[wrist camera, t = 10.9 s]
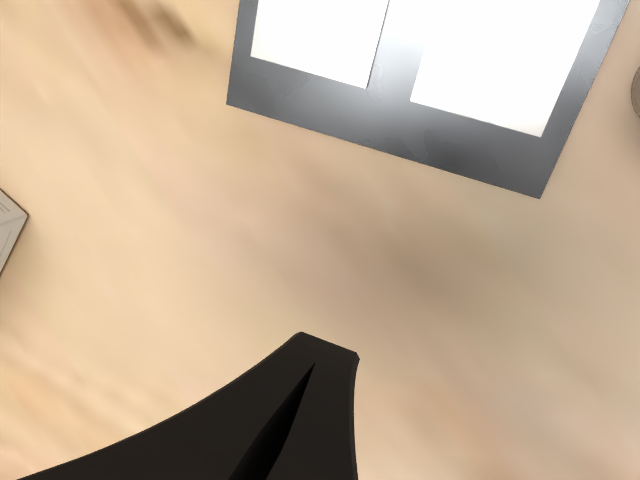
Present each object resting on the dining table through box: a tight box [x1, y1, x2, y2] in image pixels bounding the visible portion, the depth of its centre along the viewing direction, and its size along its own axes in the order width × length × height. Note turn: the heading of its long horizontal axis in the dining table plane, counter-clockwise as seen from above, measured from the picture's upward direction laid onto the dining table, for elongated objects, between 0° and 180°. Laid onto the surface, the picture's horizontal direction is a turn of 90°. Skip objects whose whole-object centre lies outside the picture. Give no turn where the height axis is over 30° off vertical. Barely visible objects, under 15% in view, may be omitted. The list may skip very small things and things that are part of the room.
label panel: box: [226, 0, 630, 199], centre depth 16 cm, size 12×10×1 cm
